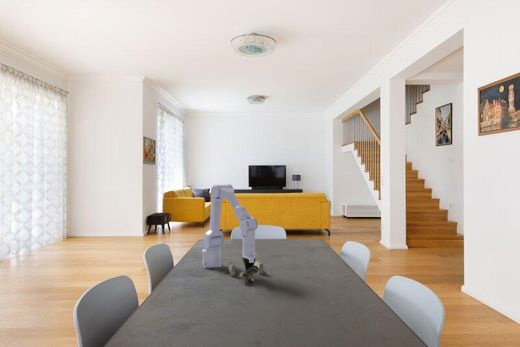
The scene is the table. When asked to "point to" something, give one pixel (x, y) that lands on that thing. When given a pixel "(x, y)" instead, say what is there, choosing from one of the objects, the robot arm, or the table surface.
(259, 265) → the wooden matchsticks
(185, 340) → the table surface
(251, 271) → the eagle figurine
